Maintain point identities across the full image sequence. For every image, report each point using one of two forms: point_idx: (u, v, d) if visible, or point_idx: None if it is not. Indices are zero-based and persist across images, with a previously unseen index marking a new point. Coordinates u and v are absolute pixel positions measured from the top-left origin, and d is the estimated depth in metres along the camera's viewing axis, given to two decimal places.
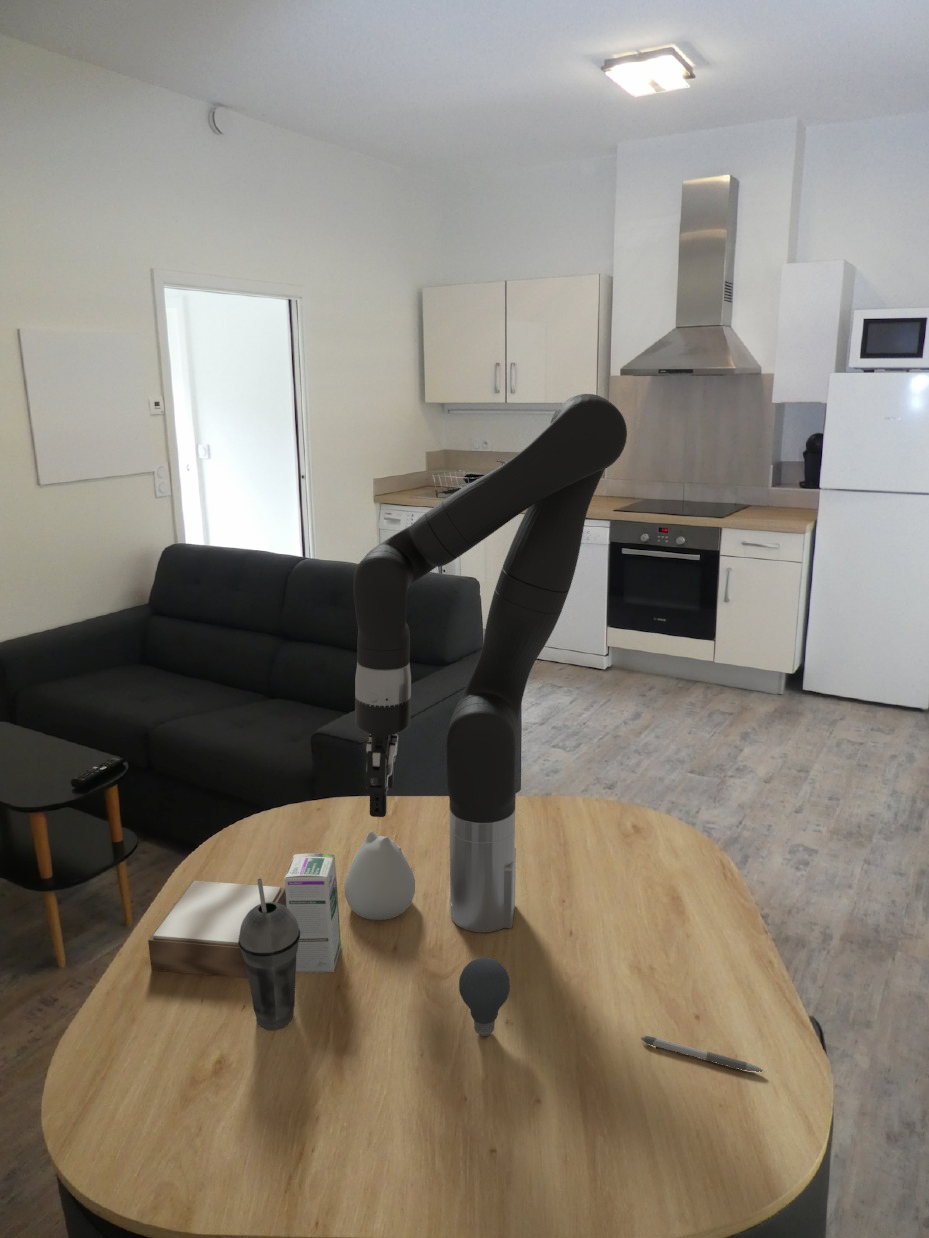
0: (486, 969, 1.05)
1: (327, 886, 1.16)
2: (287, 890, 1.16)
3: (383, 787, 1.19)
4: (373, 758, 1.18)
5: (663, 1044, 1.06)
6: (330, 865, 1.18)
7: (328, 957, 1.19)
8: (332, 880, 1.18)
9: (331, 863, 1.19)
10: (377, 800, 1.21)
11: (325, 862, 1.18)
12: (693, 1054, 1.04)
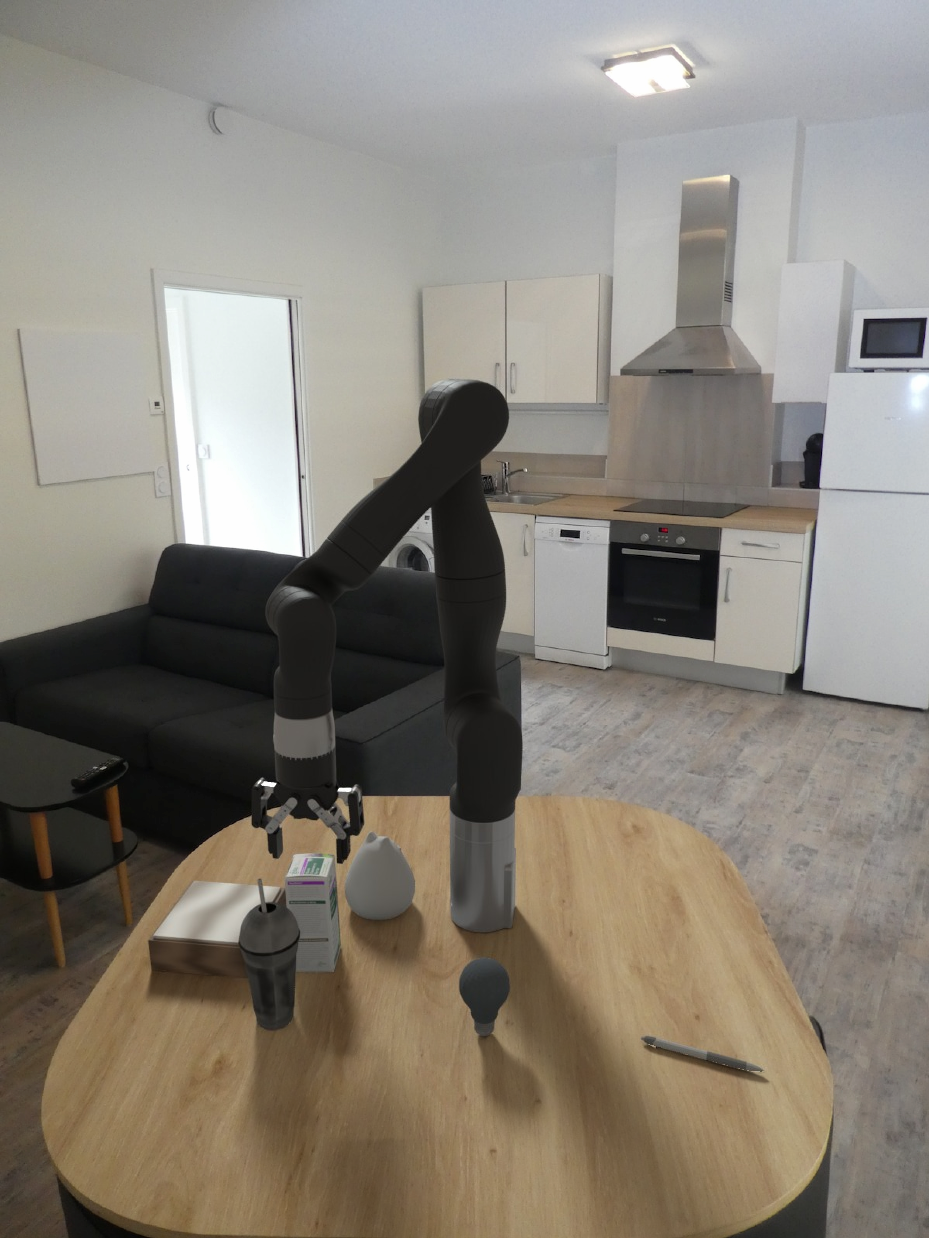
0: (486, 969, 1.05)
1: (327, 886, 1.16)
2: (287, 890, 1.16)
3: (363, 818, 1.16)
4: (358, 795, 1.14)
5: (663, 1044, 1.06)
6: (330, 865, 1.18)
7: (328, 957, 1.19)
8: (332, 880, 1.18)
9: (331, 863, 1.19)
10: (348, 842, 1.16)
11: (325, 862, 1.18)
12: (693, 1054, 1.04)
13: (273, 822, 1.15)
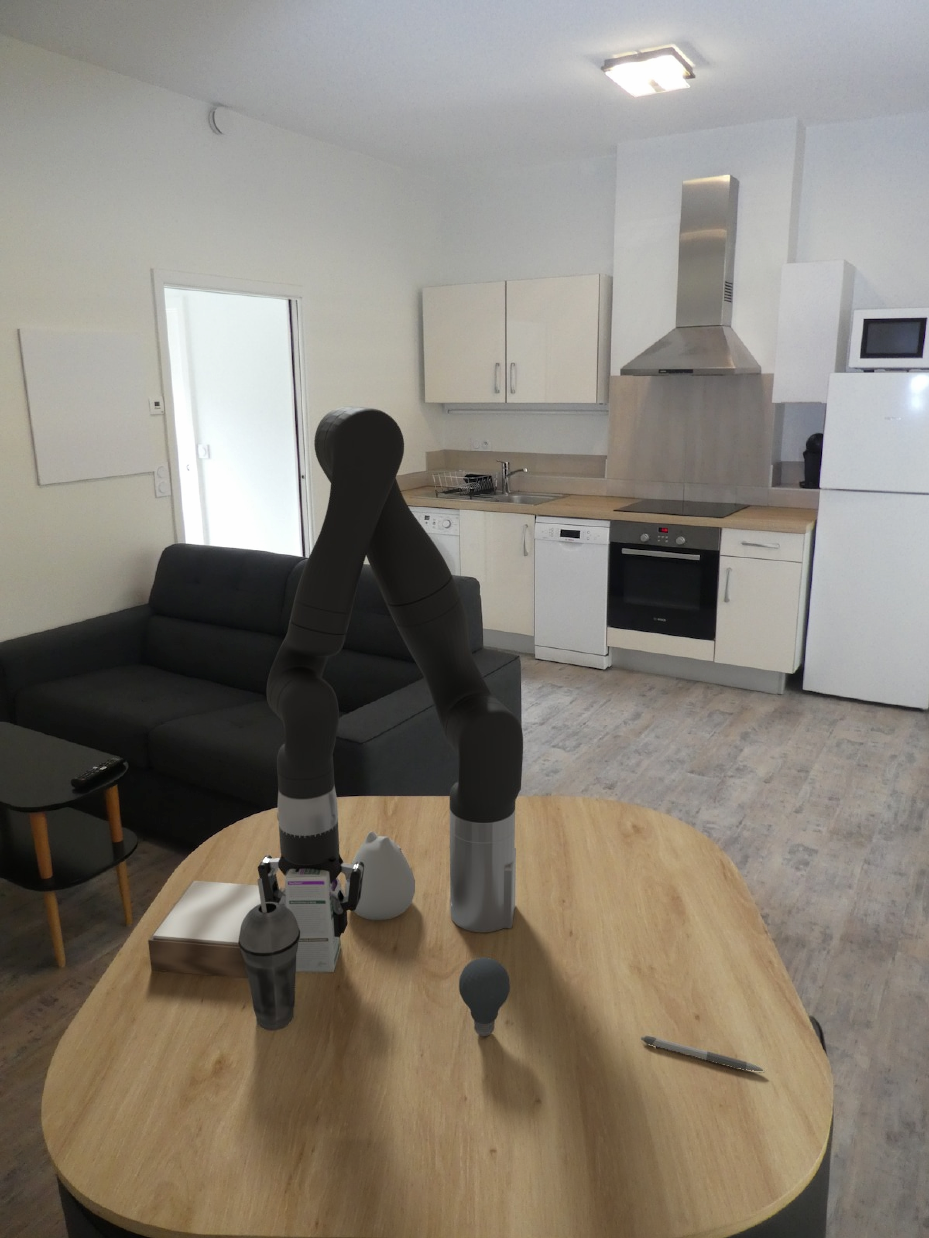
0: (486, 969, 1.05)
1: (327, 886, 1.16)
2: (287, 889, 1.16)
3: (360, 893, 1.19)
4: (361, 873, 1.17)
5: (663, 1044, 1.06)
6: None
7: (328, 957, 1.19)
8: None
9: None
10: (344, 915, 1.19)
11: None
12: (693, 1054, 1.04)
13: (284, 898, 1.18)
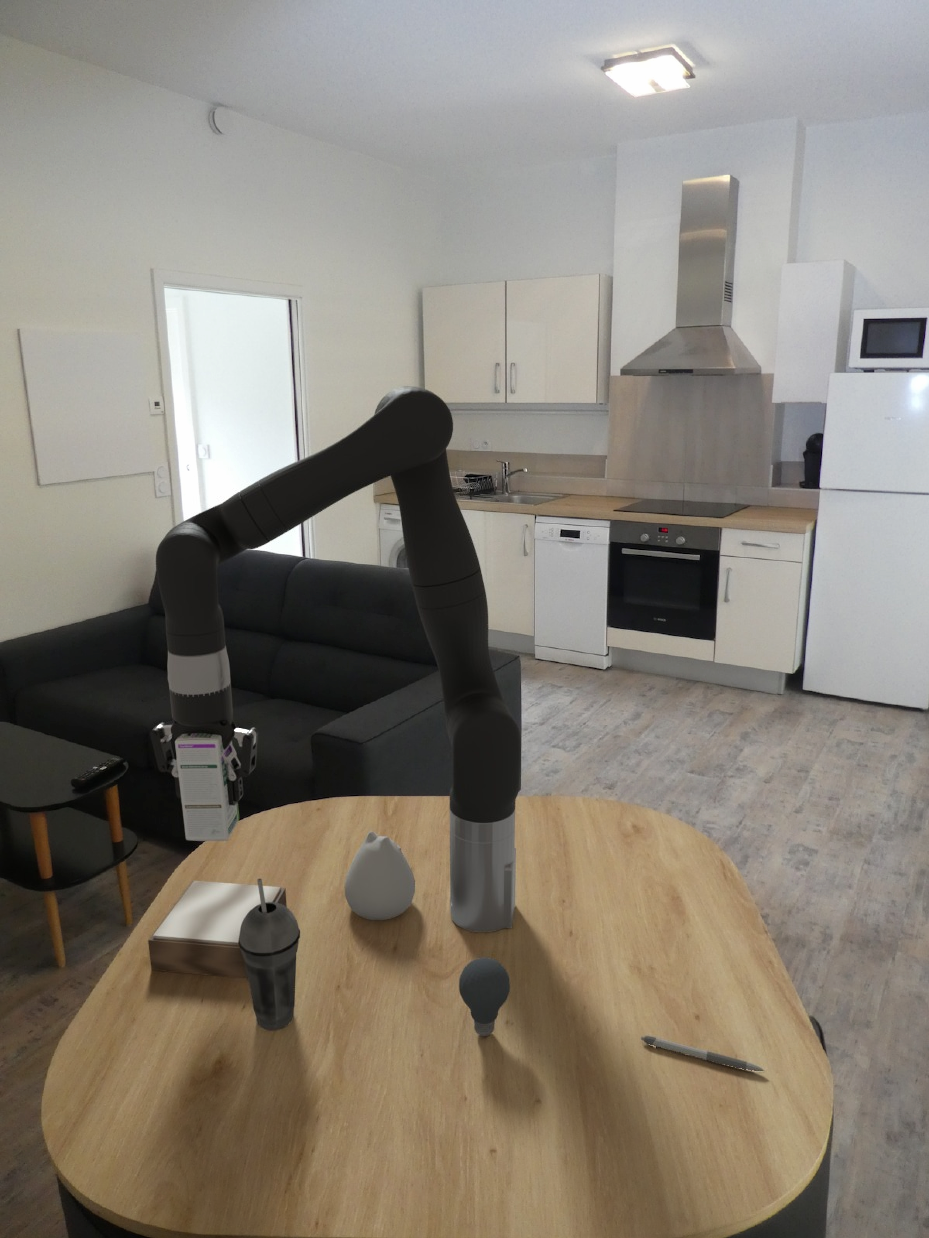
0: (486, 969, 1.05)
1: (218, 750, 1.14)
2: (178, 753, 1.14)
3: (255, 761, 1.18)
4: (253, 738, 1.16)
5: (663, 1044, 1.06)
6: None
7: (222, 824, 1.17)
8: None
9: None
10: (239, 783, 1.18)
11: None
12: (693, 1054, 1.04)
13: (177, 765, 1.17)
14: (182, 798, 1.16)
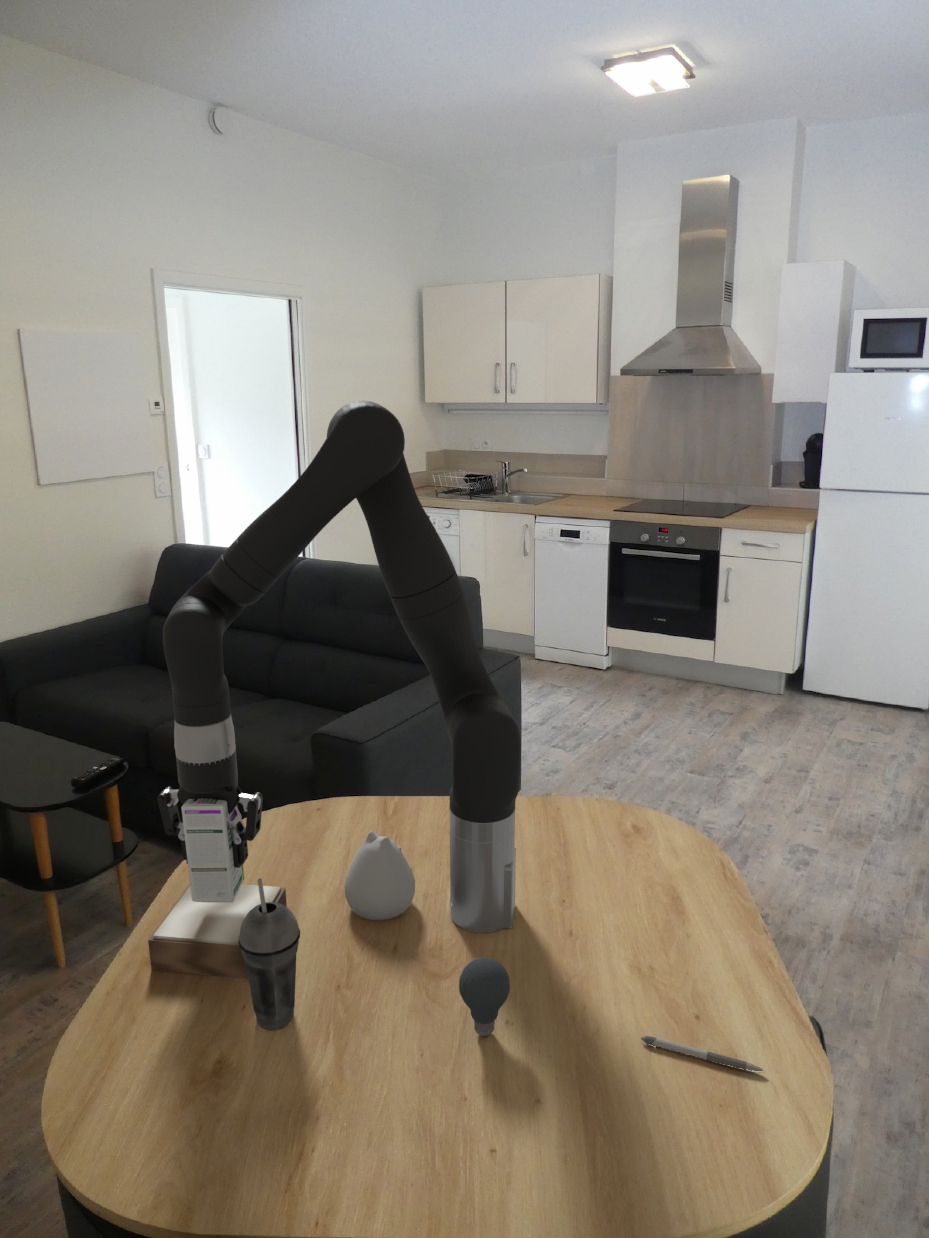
0: (486, 969, 1.05)
1: (224, 815, 1.17)
2: (185, 819, 1.17)
3: (260, 825, 1.21)
4: (258, 803, 1.18)
5: (663, 1044, 1.06)
6: None
7: (227, 887, 1.20)
8: None
9: None
10: (244, 846, 1.21)
11: None
12: (693, 1054, 1.04)
13: None
14: (188, 861, 1.19)
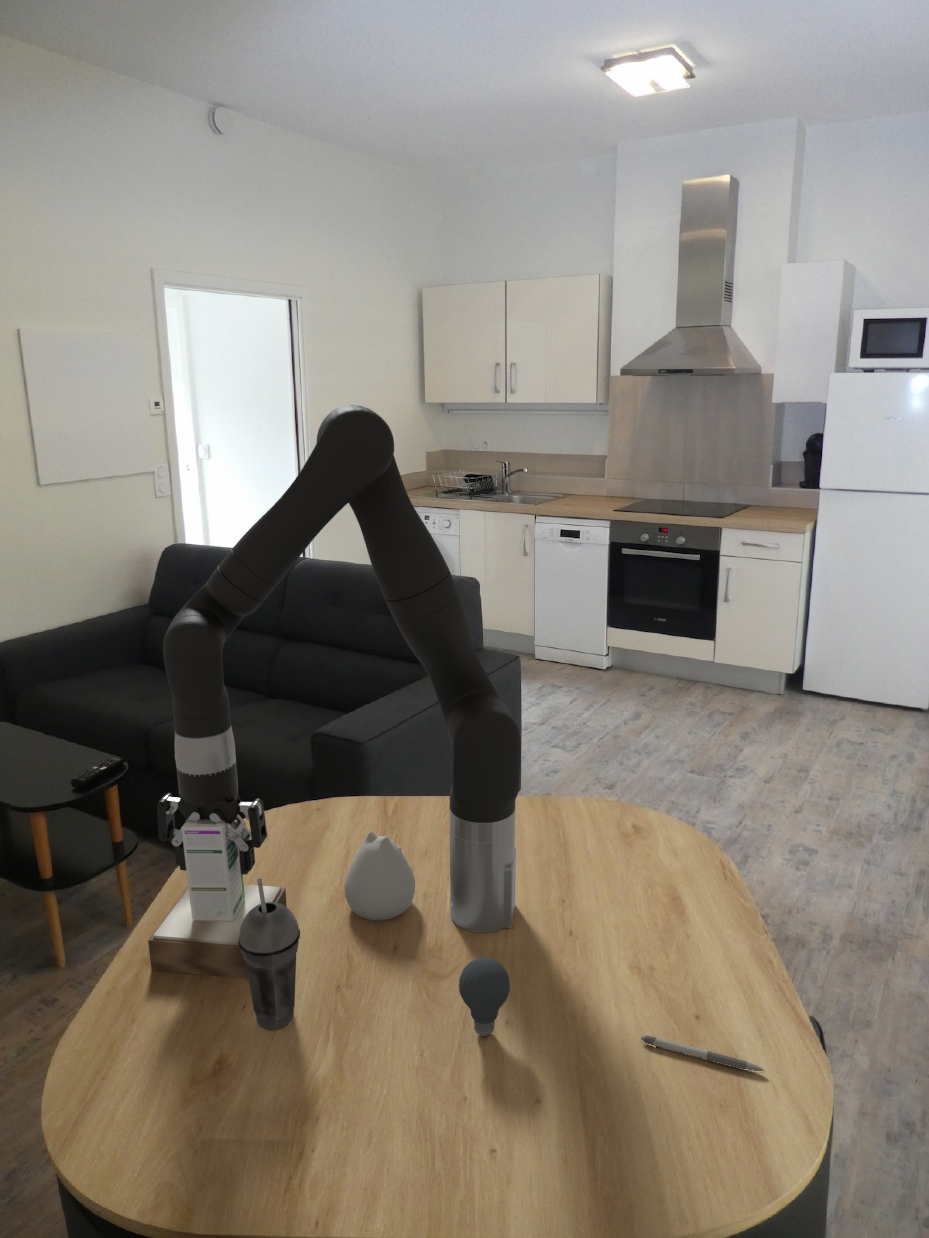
0: (486, 969, 1.05)
1: (223, 836, 1.18)
2: (185, 839, 1.18)
3: (266, 831, 1.21)
4: (258, 809, 1.18)
5: (663, 1044, 1.06)
6: None
7: (227, 906, 1.21)
8: None
9: None
10: (251, 853, 1.21)
11: None
12: (693, 1053, 1.04)
13: (179, 835, 1.20)
14: (188, 881, 1.20)
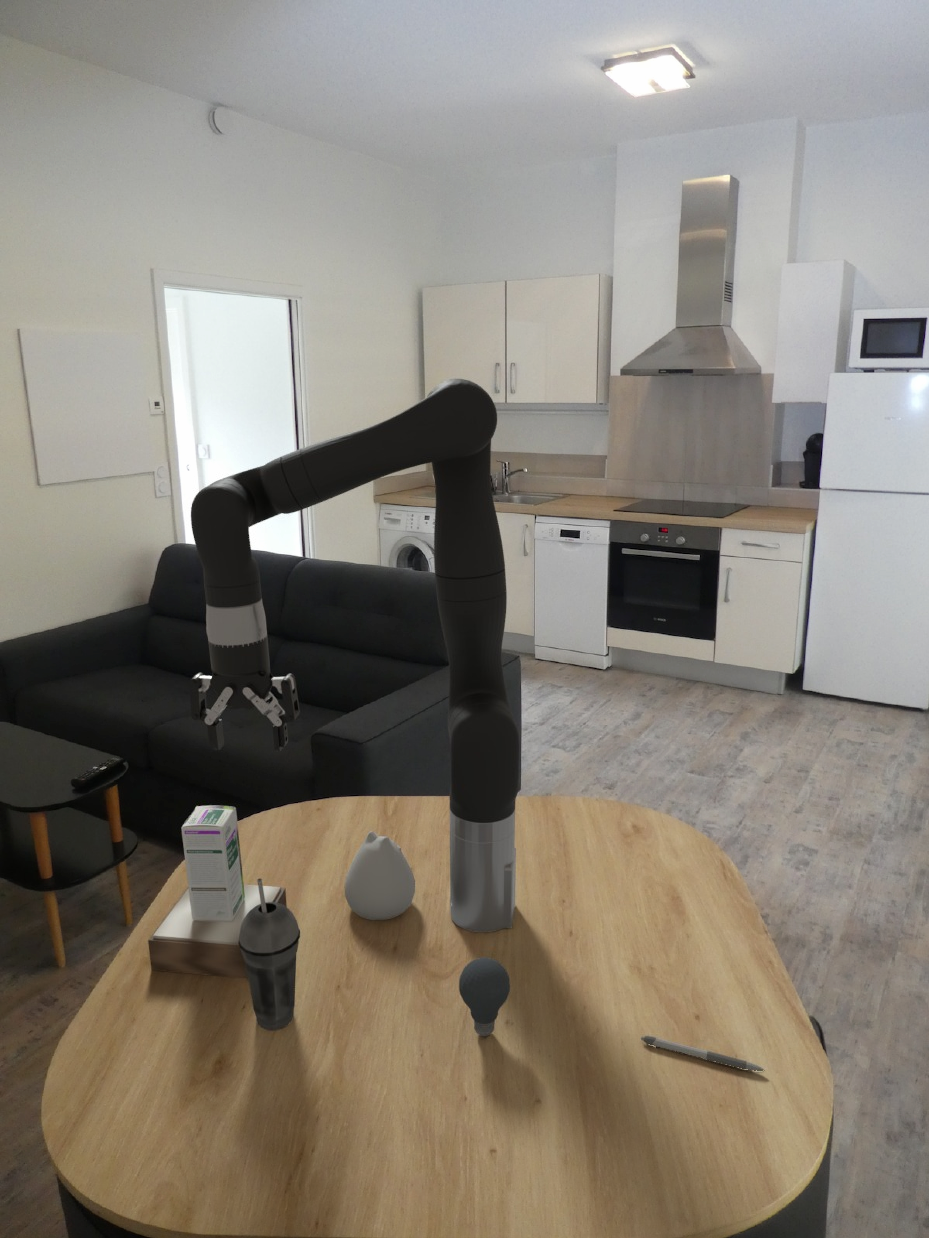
0: (486, 969, 1.05)
1: (223, 836, 1.18)
2: (185, 839, 1.18)
3: (298, 706, 1.21)
4: (291, 682, 1.19)
5: (663, 1044, 1.06)
6: (229, 816, 1.20)
7: (227, 906, 1.21)
8: (231, 831, 1.21)
9: (230, 814, 1.21)
10: (284, 729, 1.21)
11: (224, 813, 1.21)
12: (693, 1053, 1.04)
13: (212, 713, 1.21)
14: (188, 881, 1.20)
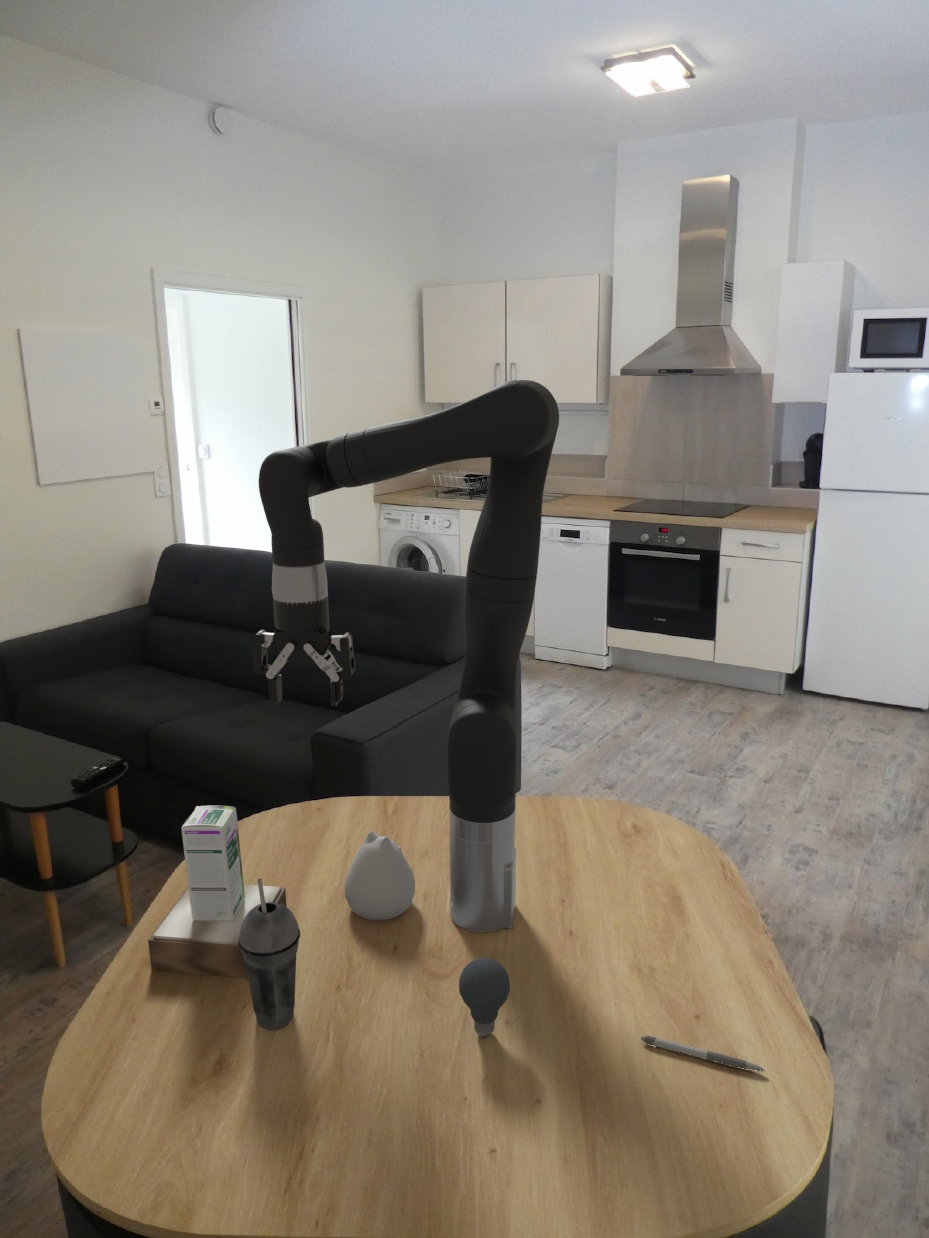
0: (486, 969, 1.05)
1: (223, 836, 1.18)
2: (185, 839, 1.18)
3: (354, 664, 1.29)
4: (349, 640, 1.26)
5: (663, 1044, 1.06)
6: (229, 816, 1.20)
7: (227, 906, 1.21)
8: (231, 831, 1.21)
9: (230, 814, 1.21)
10: (340, 685, 1.29)
11: (224, 813, 1.21)
12: (693, 1053, 1.04)
13: (273, 668, 1.28)
14: (188, 881, 1.20)
